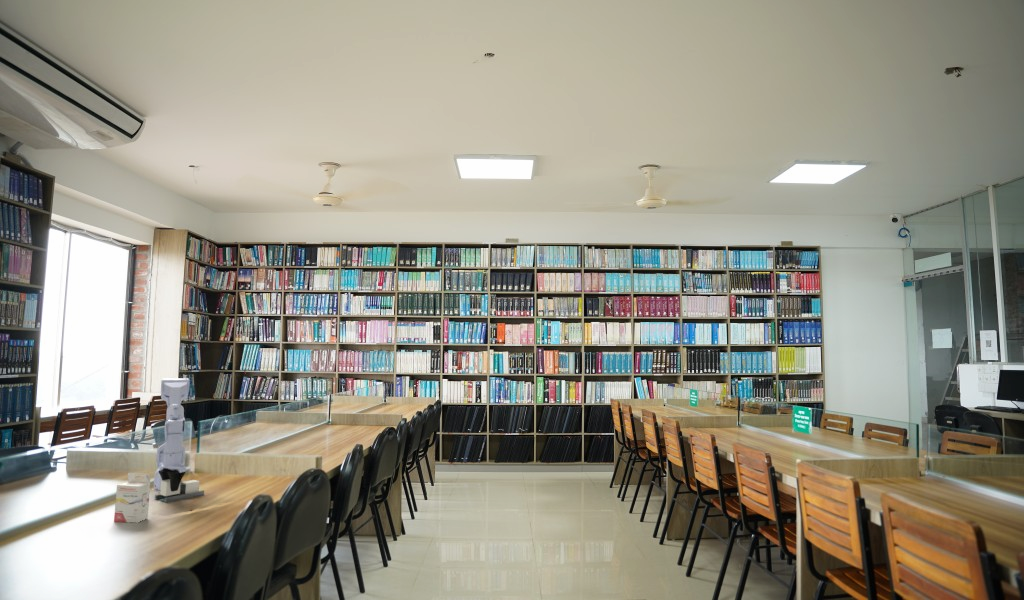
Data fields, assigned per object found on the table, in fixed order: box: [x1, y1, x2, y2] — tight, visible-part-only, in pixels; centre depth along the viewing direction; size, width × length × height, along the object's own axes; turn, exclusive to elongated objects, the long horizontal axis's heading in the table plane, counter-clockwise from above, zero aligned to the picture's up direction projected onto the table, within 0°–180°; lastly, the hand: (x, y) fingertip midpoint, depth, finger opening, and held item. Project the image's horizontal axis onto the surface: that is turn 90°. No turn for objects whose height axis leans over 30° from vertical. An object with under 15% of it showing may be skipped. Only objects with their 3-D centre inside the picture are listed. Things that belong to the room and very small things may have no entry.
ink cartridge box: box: [113, 472, 151, 524], centre depth 190 cm, size 9×5×15 cm, turn 84°
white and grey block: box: [180, 479, 201, 495], centre depth 219 cm, size 4×6×5 cm
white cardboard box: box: [159, 479, 183, 496], centre depth 213 cm, size 4×6×5 cm
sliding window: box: [153, 490, 205, 504], centre depth 216 cm, size 9×14×2 cm, turn 149°
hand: (170, 490), depth 213 cm, fingers closed on white cardboard box, 4 cm apart
